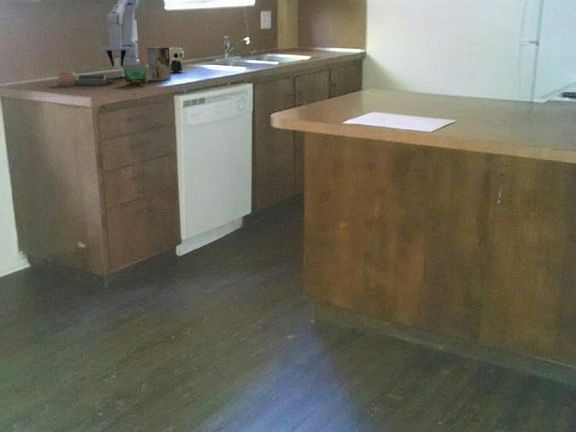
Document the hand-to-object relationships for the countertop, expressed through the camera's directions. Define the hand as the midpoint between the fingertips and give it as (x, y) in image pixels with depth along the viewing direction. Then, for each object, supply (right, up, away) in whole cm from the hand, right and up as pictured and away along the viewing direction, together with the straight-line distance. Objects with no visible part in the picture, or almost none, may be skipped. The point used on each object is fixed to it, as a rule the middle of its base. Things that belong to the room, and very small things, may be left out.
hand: (117, 66), depth 369 cm
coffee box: (+20, -5, +9) cm, 22 cm away
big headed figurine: (+24, +4, +39) cm, 46 cm away
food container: (+13, -12, -12) cm, 22 cm away
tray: (-12, -9, -4) cm, 15 cm away
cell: (0, -1, 0) cm, 2 cm away
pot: (-20, -12, -15) cm, 28 cm away
